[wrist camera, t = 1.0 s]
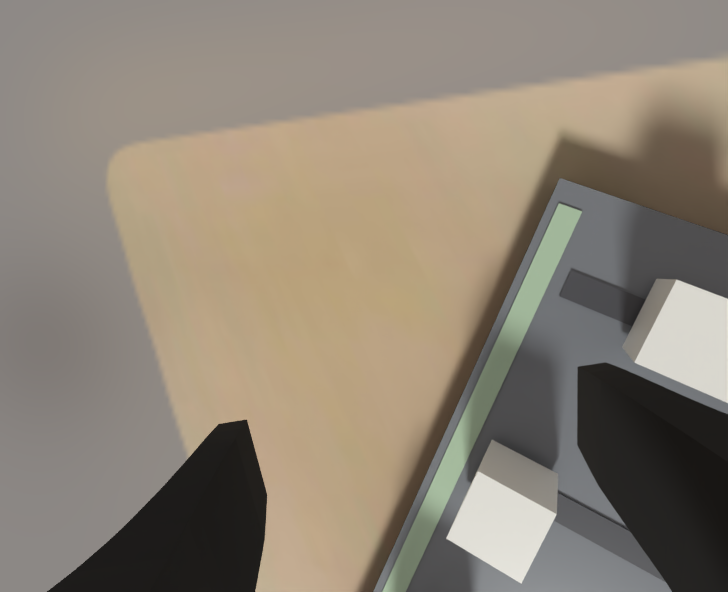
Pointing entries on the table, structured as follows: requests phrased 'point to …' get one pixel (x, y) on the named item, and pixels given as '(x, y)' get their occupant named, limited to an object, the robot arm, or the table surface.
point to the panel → (557, 395)
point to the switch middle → (506, 511)
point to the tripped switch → (683, 336)
